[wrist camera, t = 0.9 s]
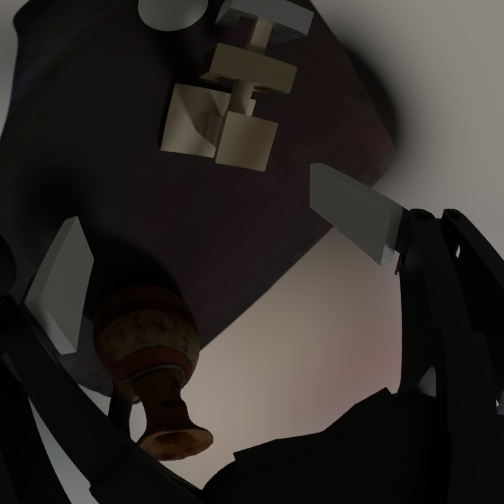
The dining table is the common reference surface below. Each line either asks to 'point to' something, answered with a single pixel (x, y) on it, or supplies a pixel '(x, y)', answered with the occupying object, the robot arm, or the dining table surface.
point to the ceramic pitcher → (151, 366)
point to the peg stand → (221, 119)
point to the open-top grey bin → (268, 17)
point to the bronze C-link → (248, 69)
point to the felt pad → (171, 13)
